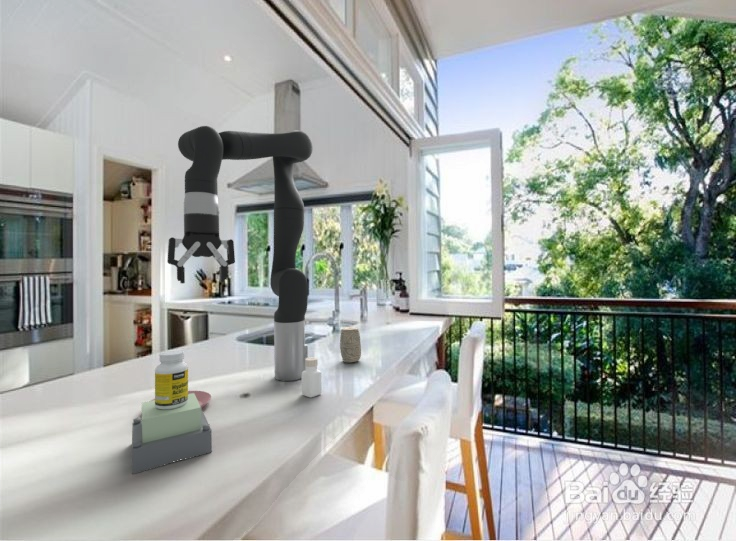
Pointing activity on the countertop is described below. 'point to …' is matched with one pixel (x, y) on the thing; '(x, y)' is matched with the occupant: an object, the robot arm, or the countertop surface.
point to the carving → (350, 344)
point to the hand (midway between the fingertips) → (202, 282)
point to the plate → (200, 397)
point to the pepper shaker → (311, 378)
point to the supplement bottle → (171, 380)
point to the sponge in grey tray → (169, 434)
